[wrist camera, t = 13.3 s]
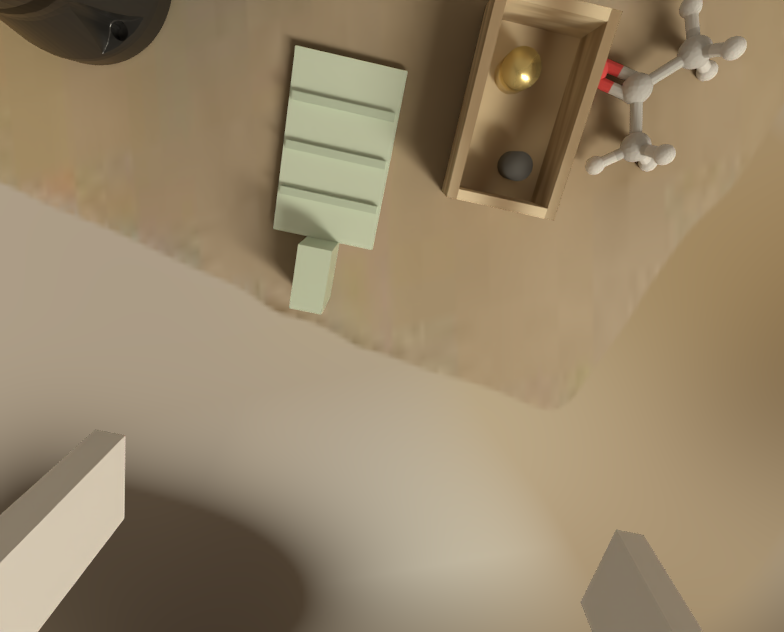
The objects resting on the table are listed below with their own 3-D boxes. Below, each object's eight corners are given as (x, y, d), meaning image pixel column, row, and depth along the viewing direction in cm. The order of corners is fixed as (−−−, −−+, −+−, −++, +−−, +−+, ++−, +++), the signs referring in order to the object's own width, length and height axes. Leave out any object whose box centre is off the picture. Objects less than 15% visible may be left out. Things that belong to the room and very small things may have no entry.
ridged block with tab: (268, 285, 46) (253, 300, 42) (298, 47, 39) (283, 33, 35) (361, 304, 47) (356, 321, 42) (407, 73, 40) (407, 62, 35)
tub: (441, 190, 43) (446, 197, 37) (485, 6, 38) (499, -19, 32) (534, 211, 43) (553, 220, 38) (590, 31, 38) (622, 11, 33)
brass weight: (490, 90, 39) (497, 84, 36) (500, 51, 38) (508, 41, 35) (524, 98, 39) (534, 93, 36) (534, 59, 38) (546, 50, 35)
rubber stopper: (494, 175, 42) (500, 177, 39) (501, 148, 41) (508, 148, 38) (519, 181, 42) (527, 183, 39) (527, 154, 41) (536, 154, 38)
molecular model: (540, 152, 45) (636, 198, 43) (534, 146, 38) (648, 200, 36) (629, -11, 40) (744, 33, 38) (641, -53, 33) (782, -1, 31)
